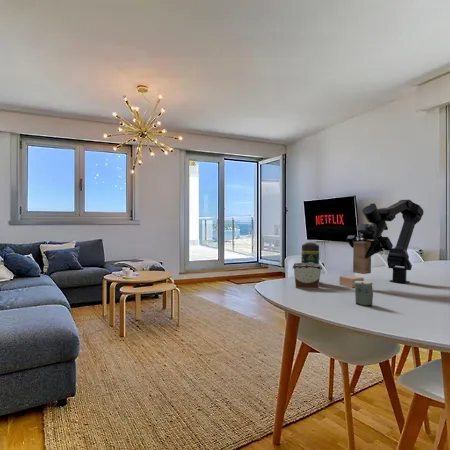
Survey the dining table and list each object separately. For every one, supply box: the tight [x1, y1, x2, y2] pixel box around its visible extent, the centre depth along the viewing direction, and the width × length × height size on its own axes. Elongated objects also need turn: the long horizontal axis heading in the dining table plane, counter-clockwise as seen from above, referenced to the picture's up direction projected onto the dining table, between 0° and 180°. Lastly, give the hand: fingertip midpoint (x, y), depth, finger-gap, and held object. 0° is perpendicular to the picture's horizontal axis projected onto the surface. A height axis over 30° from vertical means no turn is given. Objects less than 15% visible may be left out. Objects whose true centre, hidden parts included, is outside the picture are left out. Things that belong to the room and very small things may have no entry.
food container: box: [291, 262, 323, 290], centre depth 142 cm, size 12×6×10 cm, turn 84°
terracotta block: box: [339, 275, 365, 289], centre depth 146 cm, size 7×7×4 cm
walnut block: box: [352, 241, 372, 275], centre depth 140 cm, size 5×5×13 cm
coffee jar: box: [300, 242, 320, 264], centre depth 152 cm, size 10×8×19 cm
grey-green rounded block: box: [354, 280, 374, 307], centre depth 111 cm, size 6×5×8 cm
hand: (360, 257), depth 139 cm, fingers closed on walnut block, 5 cm apart
